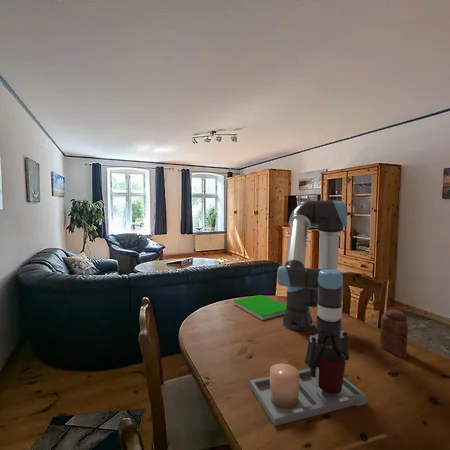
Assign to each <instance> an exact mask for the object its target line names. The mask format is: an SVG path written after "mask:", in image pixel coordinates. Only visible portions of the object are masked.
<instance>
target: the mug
mask: <svg viewBox="0 0 450 450" xmlns="http://www.w3.org/2000/svg"><path fill="white" fill-rule="evenodd" d="M345 361H346V362H347V360H346V357H345V355H344V354H343V353H342V352H341V354H340V357H339V356H338V355H337V354H336V352H335V351H334V349H333V347H326V349H325V350H324V351H323V354H322V356H321V357H320V356H319V363H318V366H317V367H318V368H319V384H318V386H319V388H320V389H321V390H323V391H325V392H327V393H331V394H337V393H340V392H341V390H342V385H343V377H345V370H346V369H345V368H346V364H345Z"/></svg>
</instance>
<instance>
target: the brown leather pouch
mask: <svg viewBox="0 0 450 450" xmlns="http://www.w3.org/2000/svg"><path fill="white" fill-rule="evenodd" d="M407 321H408V319H407V316H406V314H405V313H404V312H402V310H399V309H389V310H387V311H386V312H384V313H383V314H382V315H381V320H380V333H379V334H380V335H379V337H380V338H379V339H380V340H379V341H380V342H379V343H380V344H379V347H380V348H382V350H384V351H386V352H389V353H390V354H393V355H395V356H398V357H399V358H402V359H405V358H406V357H407V351H408V332H409V330H408V323H407Z"/></svg>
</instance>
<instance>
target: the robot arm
mask: <svg viewBox="0 0 450 450" xmlns="http://www.w3.org/2000/svg"><path fill="white" fill-rule="evenodd" d="M288 220H289V221H288V226H289V228H290V229H289V235H288V240H287V249H286V253H285V254H286V255H285V258H284V260H285V261H284V265H279V266H278V268H277V272H276V273H277V275H276V279H277V281H276V282H277V284H278V285H279V286H281V287H286V311H285V314H284V315H283V317H282V325H283V326H284V327H285V328H287V329H290V330H293V331H299V332H300V331H301V332H302V331H303V332H304V331H309V330H312V329H313V327H314V323H313V317H312V315H311V310H310V309H311V308H317V309H316V315H317V316H316V329H317V330H316V333H315V334H313V335H312V334H309V335H308V337H307V338H308V345H307V348H306V349H307V350H306V355H305V358H304V359H305V360H304V363H305V365H306V366H307V367H309V368H310V375H311V376H312V384H313V385H314V386H315V387H316V388H318V384H319V368H318V367H317V366H318V363H319V356H320V357H321V356H322V354H323V351H324V350H325V349H326V348H328V346H329V347H330V346H331V348H333V349H334V351H335V352H336V354H337V355H338V356H339V357H340V354H341V352H342V353H343V354H344V355H345V357H346V361H345V365H346V364H347V361H349V360H350V355H349V347H348V346H349V345H348V336H349V335H348V332H346V331H345V330H343V329H342V312H343V306H342V305H343V303H342V302H343V295H344V287H343V285H344V279H343V278H344V277H343V276H344V275H343V272H341V271H340V270H338V268H339V267H338V266H339V253H340V252H339V246H340V234H341V233H342V232H343V231H344V228H345V227H347V226H348V218H347V208H346V204H345V202H344V201H342V200H334V199H332V200H331V199H330V200H329V199H328V200H306V201H303V202H302V203H300V204H299V205H297V206H296V207H295V208H294V209H293V210H292V212H291V213H290V216H289V219H288ZM311 226H315V227H316V230H317V231H318V233H319V248H318V249H319V253H318V254H319V256H318V268H311V267H310V268H309V267H305V266H306V256H307V255H306V253H307V244H308V243H307V242H308V233H309V232H308V231H309V228H311Z"/></svg>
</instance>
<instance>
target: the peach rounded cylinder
mask: <svg viewBox="0 0 450 450" xmlns="http://www.w3.org/2000/svg"><path fill="white" fill-rule="evenodd" d="M269 376H270V401H271V402H272V403H273V404H274V405H275V406H277V407H279V408H283V409H291V408H294V407H296V406H297V404H298V398H299V370H298V369H297V367H295V366H294V365H291V364H288V363H281V362H280V363H276V364H273V365H272V366H271V367H270V368H269Z"/></svg>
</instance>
